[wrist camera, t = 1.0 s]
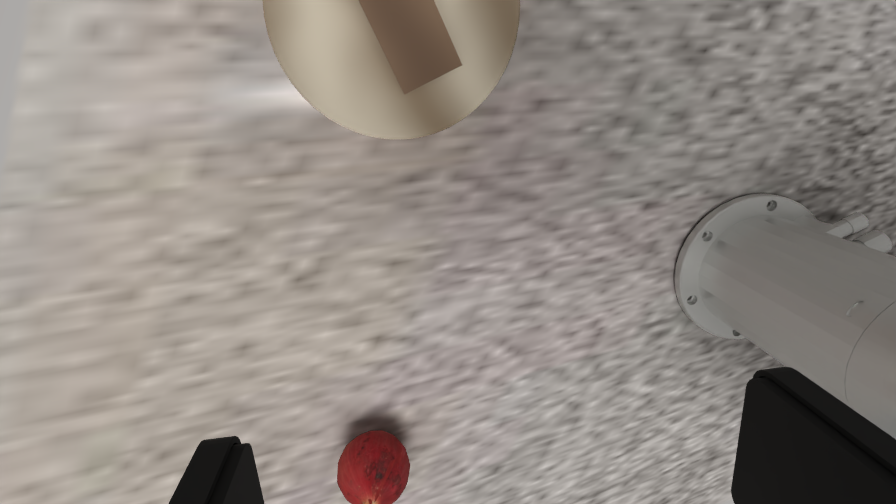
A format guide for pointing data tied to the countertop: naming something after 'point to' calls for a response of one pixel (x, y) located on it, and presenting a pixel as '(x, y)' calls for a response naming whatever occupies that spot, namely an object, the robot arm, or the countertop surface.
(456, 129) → the countertop surface
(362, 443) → the onion
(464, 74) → the lid
